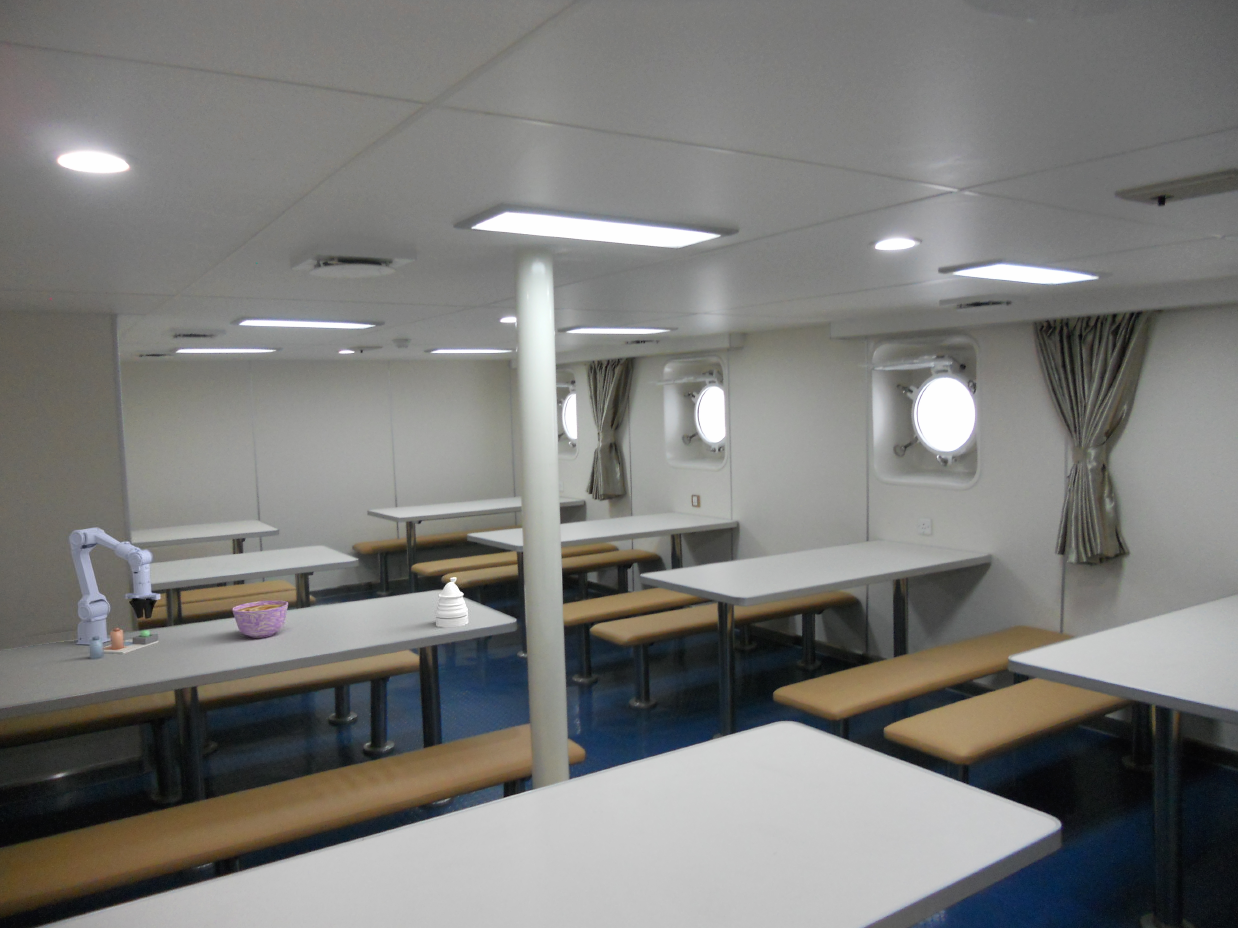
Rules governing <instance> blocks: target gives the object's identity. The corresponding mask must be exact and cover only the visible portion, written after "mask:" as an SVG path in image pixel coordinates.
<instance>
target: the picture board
mask: <svg viewBox="0 0 1238 928" xmlns="http://www.w3.org/2000/svg"><path fill="white" fill-rule="evenodd" d="M131 638H132V639H130V638H129V639H126V640H124V648H122V649H118V650H112V649H111V644H109V645H106V646H103V654H104V653H105V654H128V653H129V652H133V651H135V650H138V649H142V648H145V647H148V646H151V645H154V644H157V643H159V640H160V639H159V634H158V633H157V634H156V633H150V636H148V637H141V634H140V635H136V636H134V637H131Z"/></svg>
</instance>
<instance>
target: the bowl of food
mask: <svg viewBox="0 0 1238 928" xmlns="http://www.w3.org/2000/svg"><path fill="white" fill-rule="evenodd" d="M288 606H289V602H288V601H285V600H260V601H252V602H248V603H242V604H239V605H237V606H234V607H232V613H233V616H234V619H235V623H236V625H237V628H238V630H239V631H240V632H241V634H243V635H246V636H248V637H250V638H251V639H261V638H267V637H271V636H273V635H274V633H277V632H279V630H281V629H282V628H283V626H284V625H285V622H286V619H287V618H286V617H287V611H288Z"/></svg>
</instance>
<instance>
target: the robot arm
mask: <svg viewBox="0 0 1238 928" xmlns="http://www.w3.org/2000/svg"><path fill="white" fill-rule="evenodd" d="M68 541H69V546H70V553H71V558H72V561H73V565H74V569H75V573H76V577H77V580H78V581H77V582H78V584H79V588H80V592H81V596H82V597H81V598H80V599H79V600H78V601H77V616H78V618H79V619H80V621H79V622H78V624H77V631H76V632H77V642H76V643H75V644H76V645H88V646H90V645H89V640H92V637H95V636H99V638H102V640H103V644H104V643H106V642H111V637H109V638H108V632H107V631H108V629H107V618H108V615H109V614H110V612H111V605H110V603H109V601H107V597H106V596H105V595H104V594H102V593H100V591H99V588H98V584H97V580H96V576H95V572H94V568H93V565H92V561H91V558H90V557H91V556H90V553H91V551H92V550H93V549H94V548H95V547H96V546H98V545H101V546H103V547H106V548H108V549H111V550H112V551H114V554H115V555H116V556H118V557H119V558H121V559H123V560H125V561H127V563H128V565H129V566H130V569H131V570H130V571H131V572H132V580H133V581H132V583H133V592H129V593H125V597H124V598H125V600H129V599H131V600H129V602H128V603H129V605H131V607H132V609H133V611H134V614H135V615H136V618H137V619H138V620H139V619H142V618H145V619H146V620H148V619H151V618H152V615H153V611H154V607H155V605H156V603H157V601H158V600H161V598H162V597H161V596H162V595H161V593H156V592H152V582H151V581H152V580H151V564H152V563H153V560H154V555H153V553H152V552H151V551H150V550H149V549H147V548H146V549H142V548H140V547H138V546H135V545H132V544H131V542H130V541H122V542H120V541H118V540H117V539H115V538H114V537H112V536H111V535H109V534H107V533H106V532H105V530H104V529H101V528H100V527H97V526H95V527H89V528H84V529H75V530H73V531H72V532H71V533H70V535H69V537H68Z"/></svg>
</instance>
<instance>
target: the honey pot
mask: <svg viewBox="0 0 1238 928" xmlns="http://www.w3.org/2000/svg"><path fill="white" fill-rule="evenodd" d="M449 579H450V581H449V582H447V583H446V584H445V586H444V587H443V589H442V591H441V592H440V593H439V594H438V595H437V597H438V598H439V600H438V601H437V606H436V609H435V611H434V612H435V615H434V616H435V627H438V628H457V626H459V627H463V626H466V625H468V624H469V609H468V607H467V604H466V601H465V600H464V593H463V592H462V591H461V590H460V589H459V587H458V585H456V582H457V577H456V576H455V577H449ZM465 624H466V625H465ZM462 625H463V626H462Z"/></svg>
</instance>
